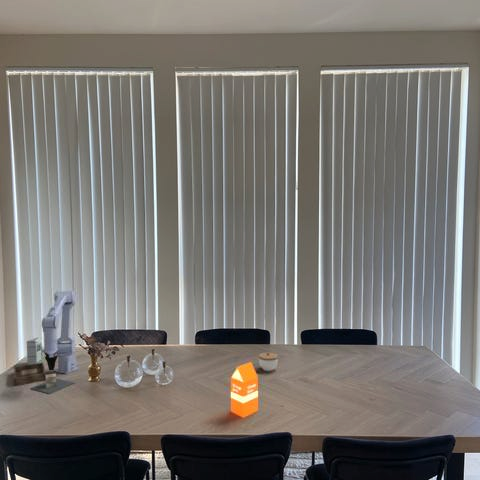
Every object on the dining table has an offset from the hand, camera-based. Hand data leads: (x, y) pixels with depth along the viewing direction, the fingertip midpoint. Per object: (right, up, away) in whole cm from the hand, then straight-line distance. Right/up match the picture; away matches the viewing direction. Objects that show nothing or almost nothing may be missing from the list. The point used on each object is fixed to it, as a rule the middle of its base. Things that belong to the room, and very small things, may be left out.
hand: (51, 367), depth 188 cm
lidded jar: (+110, -8, +21) cm, 112 cm away
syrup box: (-26, -9, +34) cm, 44 cm away
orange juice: (+96, -9, -27) cm, 100 cm away
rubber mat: (+1, -9, 0) cm, 9 cm away
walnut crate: (-18, -9, +13) cm, 24 cm away
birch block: (0, -9, 0) cm, 9 cm away
